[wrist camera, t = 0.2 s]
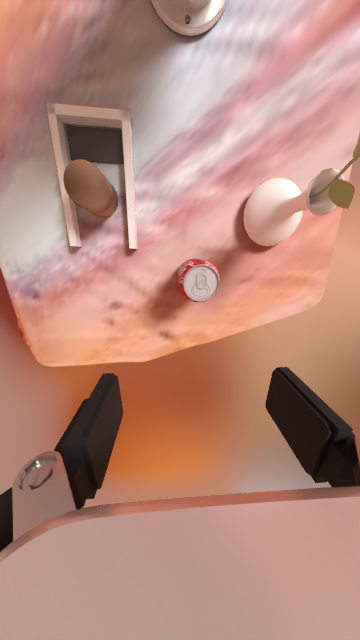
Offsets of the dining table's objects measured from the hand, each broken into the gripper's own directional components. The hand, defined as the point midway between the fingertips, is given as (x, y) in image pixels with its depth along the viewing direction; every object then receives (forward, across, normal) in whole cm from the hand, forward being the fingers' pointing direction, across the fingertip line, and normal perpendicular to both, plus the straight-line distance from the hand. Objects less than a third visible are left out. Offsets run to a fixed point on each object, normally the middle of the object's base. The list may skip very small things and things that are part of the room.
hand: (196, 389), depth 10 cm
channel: (+31, +14, -19) cm, 39 cm away
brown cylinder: (+31, +14, -18) cm, 38 cm away
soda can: (+31, -3, -3) cm, 31 cm away
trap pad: (+31, +14, -25) cm, 42 cm away
